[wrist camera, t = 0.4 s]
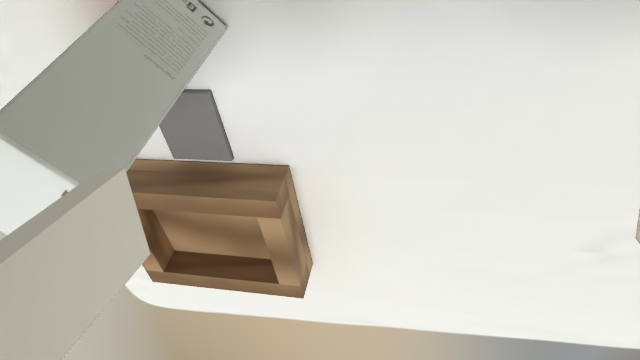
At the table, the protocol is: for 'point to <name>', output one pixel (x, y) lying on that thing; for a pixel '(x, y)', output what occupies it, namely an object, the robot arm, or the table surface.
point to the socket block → (222, 226)
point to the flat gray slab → (196, 128)
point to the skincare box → (99, 101)
